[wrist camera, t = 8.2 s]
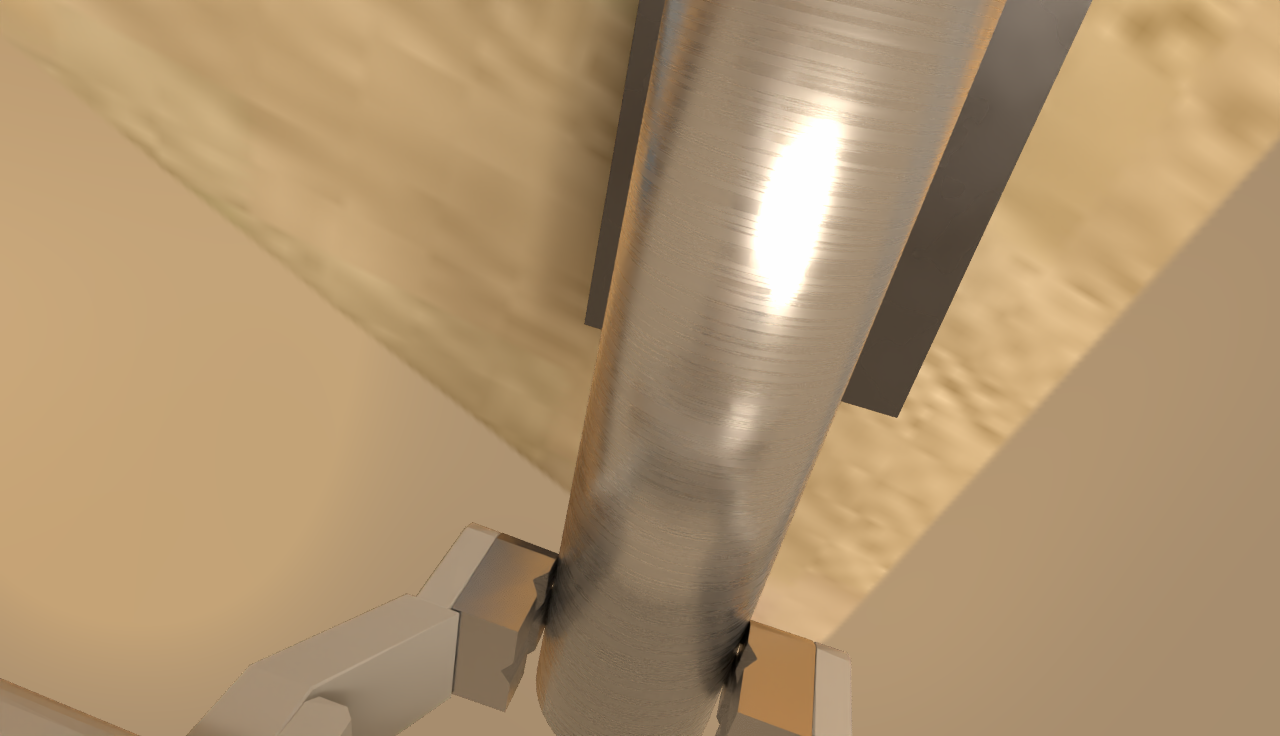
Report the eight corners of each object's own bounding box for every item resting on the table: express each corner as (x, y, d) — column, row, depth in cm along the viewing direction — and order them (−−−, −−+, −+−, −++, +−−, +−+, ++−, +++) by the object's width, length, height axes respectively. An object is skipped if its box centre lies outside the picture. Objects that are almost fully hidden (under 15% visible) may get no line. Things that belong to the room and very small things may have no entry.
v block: (703, -103, 21) (661, -129, 16) (1046, -29, 20) (1108, -35, 15) (630, 266, 27) (584, 324, 22) (888, 339, 26) (897, 417, 21)
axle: (743, -197, 7) (675, -300, 5) (1037, -139, 7) (1133, -220, 4) (575, 587, 13) (504, 726, 11) (725, 645, 13) (689, 803, 10)
